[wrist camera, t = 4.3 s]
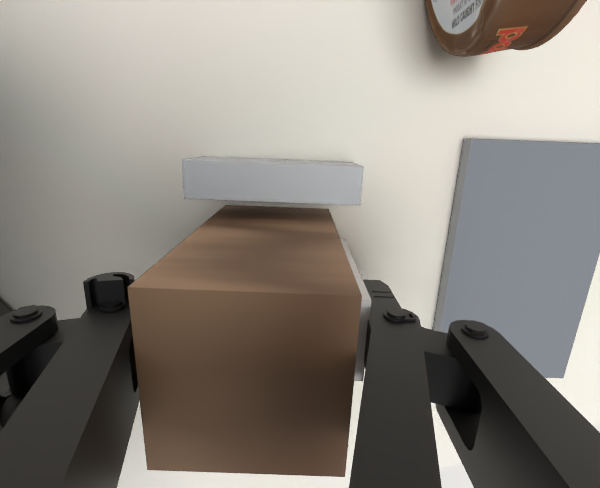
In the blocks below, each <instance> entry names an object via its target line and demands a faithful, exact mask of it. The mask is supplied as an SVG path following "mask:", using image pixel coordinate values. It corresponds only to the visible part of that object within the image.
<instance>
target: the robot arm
mask: <svg viewBox="0 0 600 488" xmlns="http://www.w3.org/2000/svg"><path fill="white" fill-rule="evenodd" d="M340 240H341V243H342V245H343V248H344V250H345V253H346V256H347V258H348V261H349V263H350V266H351V269H352V271H353V274H354V276H355V279H356V282H357V284H358V287H359V289H360V292H361V295H362V302H361V312H360V323H359V333H358V344H357V354H356V365H355V375H354V381H363V377H364V367H365V369H366V371H365V378H364V385H363V392H362V399H361V406H360V413H359V420H358V428H357V435H356V442H355V449H354V456H353V463H352V470H351V478H350V485H349V488H442V487H441V479H440V472H439V464H438V456H437V449H436V441H435V433H434V426H433V418H432V410H431V402H432V403H436V409H437V412H438V414H439V416H440V418H441V420H442V422H443V424H444V426H445V428H446V430H447V432H448V435H449V437H450V439H451V441H452V443H453V445H454V447H455V449H456V451H457V453H458V455H459V457H460V459H461V462H462V464H463V466H464V468H465V470H466V472H467V474H468V476H469V478H470V480H471V482H472V484H473V486H474V488H600V433H599V432H598V431H597V430H596V429H595V428H594V427H593V426H592V425H591V424H590V423H589V422H588V421H587V420H586V419H585V418H584V417H583V416H582V415H581V414H580V413H579V412H578V411H577V410H576V409H575V408H574V407H573V406H572V405H571V404H570V403H569V402H568V401H567V400H566V399H565V398H564V397H563V396H562V395H561V394H560V393H559V392H558V391H557V390H556V389H555V388H554V387H553V386H552V385H551V384H550V383H549V382H548V381H547V380H546V379H545V378H544V377H543V376H542V375H541V374H540V373H539V372H538V371H537V370H536V369H535V368H534V367H533V366H532V365H531V364H530V363H529V362H528V361H527V360H526V359H525V358H524V357H523V356H522V355H521V354H520V353H519V352H518V351H517V350H516V349H515V348H514V347H513V346H512V345H511V344H510V343H509V342H508V341H507V340H506V339H505V338H504V337H503V336H502V335H501V334H500V333H499V332H498V331H496V330H495V329H494V328H492V327H490V326H488V325H485V324H484V323H482V322H477V321H475V320H456V321H454V322H451V324H450V325H449V330H448V333H444V332H439V331H434V330H430V329H426V328H423V327H421V325H420V320H419V318H418V316H417V315H415V314H414V313H413V312H410V311H408V310H406V309H402V308H401V307H400V305H399V303H398V302H397V300H396V298H395V297H394V295H393V293H392V292H391V290H390V288H389V287H388V285H386V284H385V283H383V282H381V281H380V280H362V277H361V275H360V273H359V270H358V268H357V266H356V263H355V261H354V259H353V257H352V254H351V252H350V250H349V247H348V245H347V243H346V240H345V239H340ZM133 282H134V276H133V275H131V274H129V273H124V272H113V273H105V274H100V275H96V276H93V277H91V278H88V279H87V280H85V281H84V282H83V284H84V291H85V298H86V305H87V309H86V311H85V312H84V314H83V315H82V316H81V318H77V319H69V320H60V321H57V317H56V312H55V309H54V308H52V307H49V306H36V305H32V306H28V307H27V306H26V307H21V308H19V309H18V310H14V311H10V310H9V309H8V308H7V307H6V306H5V305H4V304H3V303H2V302H1V301H0V488H117V485H118V481H119V477H120V473H121V469H122V465H123V461H124V457H125V454H126V450H127V446H128V442H129V438H130V434H131V430H132V427H133V423H134V419H135V415H136V411H137V407H138V403H139V400H140V398H139V388H138V379H137V370H136V361H135V352H134V343H133V333H132V324H131V315H130V306H129V297H128V288H127V287H128V286H130V285H131V284H132V283H133Z"/></svg>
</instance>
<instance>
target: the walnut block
mask: <svg viewBox="0 0 600 488" xmlns="http://www.w3.org/2000/svg"><path fill="white" fill-rule="evenodd" d="M127 288H128V297H129V306H130V315H131V324H132V333H133V343H134V352H135V361H136V370H137V379H138V388H139V398H140V407H141V416H142V425H143V434H144V443H145V452H146V462H147V470H165V471H193V472H222V473H250V474H278V475H307V476H335V477H345V470H346V459H347V449H348V438H349V428H350V417H351V407H352V396H353V386H354V375H355V365H356V354H357V344H358V333H359V323H360V312H361V302H362V295H361V292H360V289H359V287H358V284H357V282H356V279H355V276H354V274H353V271H352V269H351V266H350V263H349V261H348V258H347V256H346V253H345V250H344V248H343V245H342V243H341V240H340V237H339V235H338V232H337V230H336V227H335V224H334V222H333V219H332V217H331V214H330V211H329V209H316V208H290V207H264V206H238V205H225V206H224V207H223V208H222V209H221V210H219V211H218V212H217V213H216V214H215V215H213V216H212V217H211V218H210V219H209V220H207V221H206V222H205V223H204V224H203V225H201V226H200V227H199V228H198V229H197V230H195V231H194V232H193V233H192V234H191V235H189V236H188V237H187V238H186V239H185V240H183V241H182V242H181V243H180V244H179V245H177V246H176V247H175V248H174V249H173V250H171V251H170V252H169V253H168V254H167V255H165V256H164V257H163V258H162V259H161V260H159V261H158V262H157V263H156V264H155V265H153V266H152V267H151V268H150V269H149V270H147V271H146V272H145V273H144V274H143V275H141V276H140V277H139V278H138V279H137V280H135V281H134V282H133V283H132V284H131V285H130V286H128V287H127Z"/></svg>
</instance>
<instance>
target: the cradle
mask: <svg viewBox="0 0 600 488" xmlns="http://www.w3.org/2000/svg"><path fill="white" fill-rule="evenodd" d="M182 165H183V183H184V199H210V200H236V201H262V202H288V203H314V204H340V205H360V202H361V190H362V178H363V166H360V165H358V164H355V163H353V162H330V161H304V160H278V159H252V158H227V157H197V158H191V159H184V160H182Z"/></svg>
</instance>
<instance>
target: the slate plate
mask: <svg viewBox="0 0 600 488" xmlns="http://www.w3.org/2000/svg"><path fill="white" fill-rule="evenodd" d="M599 253H600V144H597V143H571V142H546V141H520V140H495V139H464V140H463V146H462V152H461V159H460V165H459V171H458V177H457V183H456V190H455V196H454V202H453V208H452V214H451V221H450V227H449V233H448V239H447V245H446V252H445V258H444V264H443V270H442V276H441V283H440V289H439V295H438V301H437V307H436V314H435V320H434V326H433V330H434V331H439V332H444V333H448V330H449V325H450V324H451V322H454V321H456V320H475V321H477V322H482V323H484V324H485V325H488V326H490V327H492V328H494V329H495V330H496V331H498V332H499V333H500V334H501V335H502V336H503V337H504V338H505V339H506V340H507V341H508V342H509V343H510V344H511V345H512V346H513V347H514V348H515V349H516V350H517V351H518V352H519V353H520V354H521V355H522V356H523V357H524V358H525V359H526V360H527V361H528V362H529V363H530V364H531V365H532V366H533V367H534V368H535V369H536V370H537V371H538V372H539V373H540V374H541V375H542V376H543V377H544V378H563V377H564V374H565V370H566V367H567V363H568V360H569V357H570V353H571V350H572V346H573V343H574V339H575V336H576V332H577V329H578V326H579V322H580V319H581V315H582V312H583V308H584V305H585V302H586V298H587V295H588V291H589V288H590V284H591V281H592V277H593V274H594V271H595V267H596V264H597V260H598V257H599Z"/></svg>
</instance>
